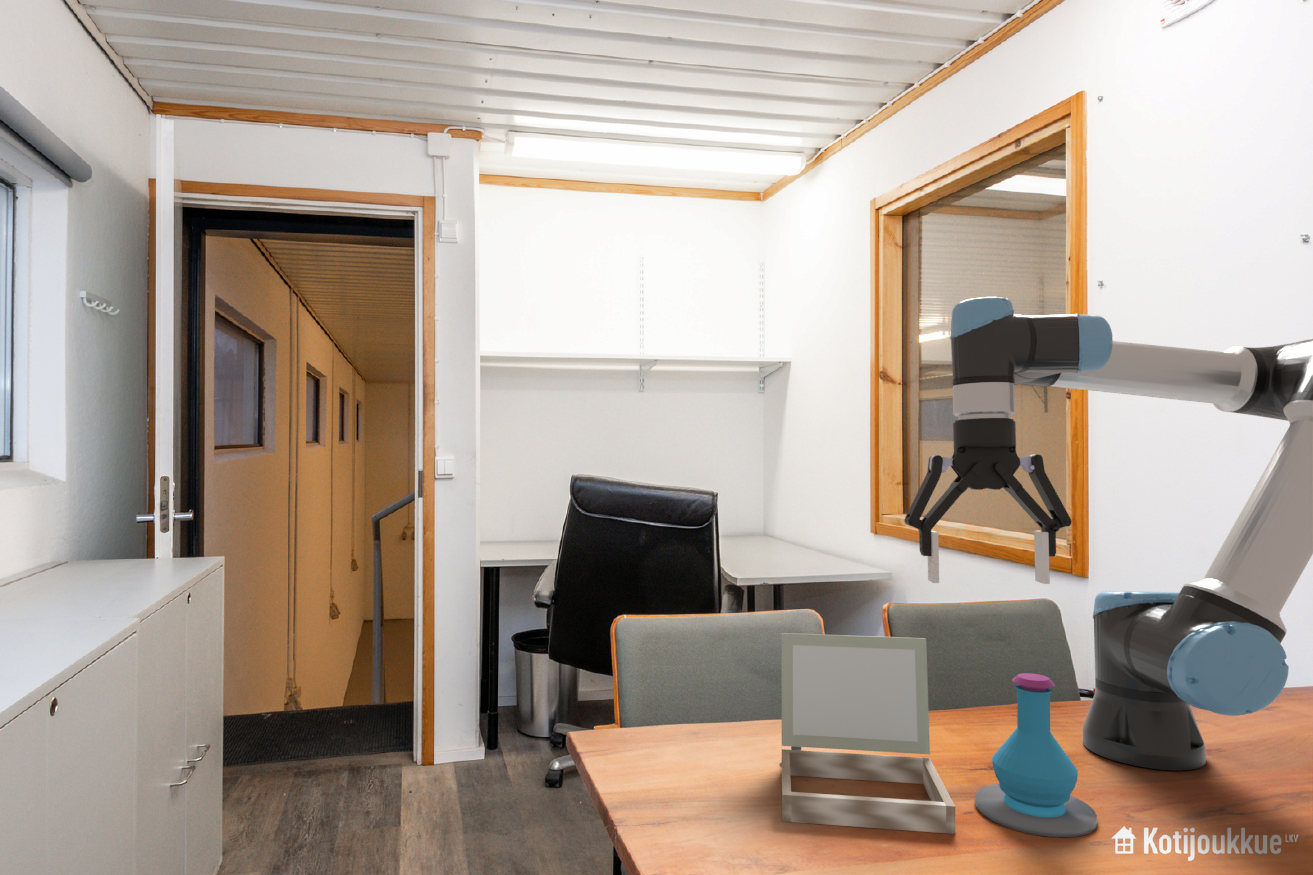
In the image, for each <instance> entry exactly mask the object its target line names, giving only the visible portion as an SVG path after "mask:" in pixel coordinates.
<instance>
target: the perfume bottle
mask: <svg viewBox="0 0 1313 875" xmlns="http://www.w3.org/2000/svg"><path fill="white" fill-rule="evenodd" d="M1011 681H1012V682H1013V683H1015V684H1016V685H1015V686H1014V688H1015V689H1014V690H1016V705H1017V706H1016V710H1017V711H1016V713H1017V714H1016V715H1017V716H1016V718H1017V720H1016V722H1017V725H1016V726H1017V727H1016V728H1015V729H1014V731H1012V733H1011V734H1010V735H1009V737H1008V738H1007V739H1006V740H1005V741H1004V743H1002V745H1000V747H999V748H997V750H996V751H995V752H994V753H993V755H992V757H991V762H992V768H993V771H994V775H995V777H996V780H997V781H998V784H999V786H1000V789H1001V790H1002V791H1003V792H1004V793H1005V795H1004V802H1005V804H1006V805H1007V806H1009V807H1010V808H1012V809H1014V810H1016V811H1018V812H1021V813H1024V814H1028V815H1032V816H1038V817H1058V816H1061V815H1063V814H1065V812H1066V807H1065V805H1064V803H1066V802H1068V801H1069V800H1070V795H1072V793H1073V791H1074V790H1075V788H1076V785H1077V781H1078V775H1079V774H1078V773H1079V770H1078V769H1077V767H1076V766H1075V764H1074V763H1073V761H1072V760H1071V758H1070V756H1068V754H1067V753H1066V751H1065V750H1064V749H1063V748H1062V746H1061V744H1060V743H1059V742H1058V741H1057V739H1056V738H1055V736H1054V735H1053V734H1052V731H1051V694H1052V692H1053V690H1052V688H1054V687H1055V686H1056V684H1055V683H1054V682H1053V681H1052V680H1051V678H1050V677H1048V676H1045V675H1042V674H1038V673H1029V672H1027V673H1025V672H1022V673H1019V674H1016V676H1015V677H1013V678H1012V679H1011Z"/></svg>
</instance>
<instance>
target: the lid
mask: <svg viewBox="0 0 1313 875" xmlns="http://www.w3.org/2000/svg"><path fill="white" fill-rule="evenodd" d="M927 653H928V652H927V638H926V637H925V638H924V637H901V636H900V637H896V636H872V635H871V636H870V635H843V634H842V635H841V634H840V635H839V634H820V633H819V634H817V633H814V634H813V633H793V632H792V633H790V632H789V633H787V632H781V746H782V747H791V746H794V747H801V748H811V749H812V748H813V749H831V750H833V749H834V750H849V751H864V752H865V751H866V752H880V753H882V752H883V753H899V754H912V755H913V754H918V755H931V747H930V741H931V740H930V717H929V713H930V711H929V688H928V687H929V686H928V683H929V682H928V679H929V678H928V657H927V655H928V654H927Z"/></svg>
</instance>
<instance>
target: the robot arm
mask: <svg viewBox="0 0 1313 875" xmlns="http://www.w3.org/2000/svg"><path fill="white" fill-rule="evenodd" d="M949 340H950V345H951V346H950V348H951V369H952V372H951V373H952V415H953V416H955V417H957V420H955V421H954V422H953V424H952V430H953V432H952V433H953V454H952V456H951V457H945V456H941V455H940V454H939V455H938V454H937V455H936V454H935V455H931V456H929V458H928V463H927V472H926V474H925V476H924V479H923V481H922V482H921V485H920V486H919V489H918V490H917V493H916V494H915V497H914V499H913V501H912V502H911V504H910V506H909V510H908V512H906V515H905V518H904V520H903V521H904V523H905V525H907V526H908V527H909V526H910V527H911V528H915V529H917V530H918V533H919V534H918V535H919V538H918V539H919V553H920V555H921V556H923V557H927V580H928V581H929V582H931V583H933V584H939V583H940V558H939V557H940V556H939V555H940V551H939V549H940V548H939V532H938V531H935V530H932V529H933V528H934V527H935V526H936V525H937V524H938V522H939V521H940V520H941V519H942V518H943V517H944V516H945V514H946V513H947V512H948V510H950V508H951V507H952V506H953V505H954V504H955V503H956V501H957V500H958V499H959V498H960V496H961V495H962V494H963V493H965V492H966V491H967V489H970V490H973V491H974V490H980V491H981V490H985V489H987V490H996V491H997V490H1001V489H1004V490H1005V491H1006V492H1007V493H1008V494H1010V496H1011V497H1012V498H1013V499H1014V500H1015V502H1017V504H1018V505H1019V506H1020V507H1021V508H1022V509H1023V510H1024V511H1025V513H1027V515H1028V516H1029V517H1030V518H1031V520H1033V521H1034V523H1036V525H1037V526H1038V527H1039V528H1040V529H1041V530H1033V540H1034V543H1033V544H1034V574H1035V575H1034V576H1035V578H1034V579H1035V581H1036V582H1038V583H1040V584H1043V585H1045V584H1046V585H1047V584H1048V585H1050V584H1051V583H1050V582H1051V580H1050V557H1056V554H1057V537H1056V536H1057V532H1059V530H1060V529H1062V528H1065V527H1069V526H1071V525H1072V519H1071V517H1070V515H1069V513H1068V511H1067V510H1066V507H1065V506H1064V504H1063V502H1062V501H1061V498H1060V497H1059V495H1058V493H1057V491H1056V489H1055V488H1054V486H1053V484H1052V482H1051V481H1050V478H1049V476H1048V475H1047V473H1046V471H1045V465H1044V458H1043V456H1042V455H1041V454H1037V453H1036V454H1029V455H1027V456H1020V457H1019V455H1018V453H1017V438H1016V437H1017V429H1016V428H1017V427H1016V421H1014V420H1015V419H1013V418H1011V416H1013V415H1014V414H1016V397H1015V396H1016V395H1015V386H1016V385H1031V386H1040V387H1055V388H1065V389H1072V390H1073V389H1074V390H1083V391H1084V390H1085V391H1092V392H1099V393H1100V392H1101V393H1111V394H1119V395H1120V394H1121V395H1129V396H1140V397H1149V398H1158V399H1168V400H1175V401H1176V400H1177V401H1187V402H1196V403H1205V404H1213V406H1214V407H1215V408H1216V409H1218V411H1221V412H1226V413H1233V414H1234V413H1235V414H1239V415H1240V414H1242V415H1248V416H1255V417H1262V418H1268V419H1275V420H1280V421H1288V422H1289V426H1288V428H1287V430H1286V432H1285V434H1283V436H1282V439H1281V440H1280V443H1279V444H1278V446H1277V448H1276V450H1275V452H1274V453H1273V455H1272V457H1271V458H1270V460H1269V462H1268V464H1267V465H1266V467H1265V469H1264V471H1263V473H1262V474H1261V476H1260V477H1259V480H1258V481H1257V483H1256V485H1255V486H1254V489H1253V490H1252V492H1251V494H1250V495H1249V497H1248V499H1247V501H1246V503H1245V505H1244V506H1243V508H1242V510H1240V511H1241V512H1240V513H1239V515H1238V517H1237V518H1236V521H1235V522H1234V524H1233V526H1232V528H1231V529H1230V531H1229V533H1228V535H1227V536H1226V537H1225V540H1224V541H1223V543H1222V545H1221V547H1220V548H1219V551H1218V552H1217V554H1216V555H1215V557H1214V559H1213V561H1212V563H1211V564H1210V566H1209V569H1208V570H1207V572H1206V574H1205V576H1204V577H1203V578H1202V579H1201V580H1196V581H1193V582H1189V583H1184V585H1183V586H1182V587H1181V589H1180V591H1179V592H1175V591H1174V592H1172V591H1126V590H1125V591H1124V590H1122V591H1121V590H1119V591H1114V590H1113V591H1111V590H1109V591H1106V590H1105V591H1101V592H1099V593H1098V594H1096V595H1095V598H1094V606H1093V612H1092V619H1093V638H1094V639H1093V640H1094V646H1093V647H1094V676H1095V677H1094V678H1095V679H1094V680H1095V684H1094V695H1093V698H1092V700H1091V703H1090V706H1089V708H1088V712H1087V714H1086V716H1085V720H1084V723H1083V724H1082V744H1083V746H1084V747H1085V748H1087V749H1088V750H1089V751H1091V752H1092V753H1094V754H1096V755H1099V756H1100V757H1102V758H1103V757H1104V758H1106V759H1109V760H1111V761H1115V762H1119V763H1122V764H1126V765H1130V766H1135V767H1141V768H1145V769H1153V770H1155V769H1156V770H1161V771H1162V770H1163V771H1165V770H1166V771H1189V770H1190V771H1191V770H1196V769H1199V768H1202V767H1204V766H1205V765H1206V763H1207V762H1206V761H1207V757H1206V756H1207V754H1206V745H1205V741H1204V739H1203V736H1202V733H1201V730H1200V728H1199V726H1198V723H1197V720H1196V718H1195V715H1194V711H1193V710H1192V707H1193V708H1196V709H1199V710H1204V711H1207V712H1212V713H1214V714H1218V715H1223V716H1228V717H1237V716H1239V717H1240V716H1245V715H1250V714H1254V713H1257V712H1259V711H1261V710H1264V709H1265V708H1266V707H1268V706H1269V705H1271V704H1272V703H1273V702H1274V701H1275V700H1276V699H1277V698H1278V697H1279V696H1280V694H1281V693H1282V691H1283V690H1284V688H1285V686H1286V684H1287V681H1288V677H1289V665H1288V664H1287V663H1286V659H1287V653H1286V651H1285V649H1284V646H1282V641H1283V640H1284V639H1285V636H1286V634H1287V631H1288V630H1287V628H1286V625H1285V624H1284V622H1283V620H1282V618H1281V614H1280V613H1281V612H1282V609H1283V608H1284V606H1285V605H1286V603H1287V601H1288V599H1289V597H1290V595H1291V593H1292V591H1293V590H1294V588H1295V586H1296V585H1297V583H1298V581H1299V579H1300V577H1301V576H1302V574H1303V572H1304V571H1305V568H1306V566H1307V565H1308V563H1309V561H1310V560H1311V558H1312V556H1313V338H1312V339H1305V340H1300V341H1296V342H1291V343H1286V344H1285V343H1283V344H1280V345H1274V346H1264V347H1247V346H1232V347H1229V348H1227V349H1225V350H1224V351H1218V350H1217V351H1215V350H1207V349H1206V350H1205V349H1204V350H1203V349H1196V348H1186V347H1185V348H1184V347H1176V346H1168V345H1167V346H1165V345H1156V344H1155V345H1154V344H1148V343H1147V344H1146V343H1137V342H1136V343H1133V342H1124V341H1117V340H1116V341H1115V340H1113V331H1112V328H1111V325H1110V324H1109V322H1108V320H1106V318H1104V317H1103V316H1101V315H1097V314H1082V313H1078V312H1077V313H1074V314H1037V315H1036V314H1035V315H1034V314H1032V315H1030V314H1028V315H1026V314H1024V315H1022V314H1018V313H1017V314H1015V310H1014V307H1013V303H1012V301H1011V300H1010V299H1009V298H1006V297H998V296H985V297H976V298H968V299H965V300H962V301H960V302H958V303H957V304H955V306H954V307H953V309H952V311H951V320H950V336H949ZM949 467H951V469H952V470H953V471H954V473H955V474H956V477H955V479H954V480H953V481H952V482H951V483H950V485H949V487H948V488H947V489H946V490H945V492H944V493H943V494H942V495H941V496H940V498H938V500H937V501H936V502H935V503H934V505H933V506H932V507H931V508H930V509H929V511H928V512H927V513H926V514H925V515H924V516H923V514H924V511H925V509H926V507H927V504H928V503H929V501H930V499H931V497H932V495H933V493H934V491H935V489H936V487H937V485H938V484H939V480H940V478H941V476H942V474H943V473H945V472H947V469H948V468H949ZM1020 467H1022V470H1023V471H1024V472H1026V473H1028V476H1029V478H1030V480H1031V481H1032V484H1033V486H1034V488H1035V489H1036V491H1037V494H1038V495H1039V496H1040V498H1041V501H1042V502H1043V503H1044V506H1045V507H1046V509H1047V511H1048V513H1049V514H1048V513H1047V512H1046V511H1045V510H1044V509H1043V508H1042V507H1041V506H1040V504H1038V502H1037V501H1036V500H1035V499H1034V498H1033V497H1032V496H1031V495H1030V493H1029V492H1027V491H1026V489H1025V488H1024V487H1023V484H1022V483H1021V482H1020V481H1019V479H1017V478H1016V477H1015V476H1014V475H1015V473H1016V472H1017V470H1018V469H1019V468H1020ZM1049 515H1050V516H1051V517H1050V516H1049ZM922 516H923V518H922Z"/></svg>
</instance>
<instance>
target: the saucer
mask: <svg viewBox="0 0 1313 875" xmlns="http://www.w3.org/2000/svg"><path fill="white" fill-rule="evenodd" d="M1004 795H1005V793H1004V792H1003V791H1002V790H1001V789H1000V786H999V783H994V784H989V785H986V786H983V787H981V788H979V789H978V790H977V791H976V792H975V795H974V805H975V808H976V809H977V811H978V813H980V814H982V816H984V817H986V818H987V819H989V820H990V821H992V822H994V823H996V824H998V825H1000V826H1002V827H1005V828H1008V829H1011V830H1015V831H1018V832H1020V833H1024V834H1025V833H1026V834H1030V835H1036V836H1042V837H1050V838H1074V837H1075V838H1076V837H1081V836H1086V835H1088V834H1090V833H1092V832H1093V831H1095V829H1097V826H1098V821H1097V820H1098V819H1097V817H1098V816H1097V813H1096V811H1095V809H1093V807H1092V806H1090V805H1089V804H1087V803H1086V802H1085V801H1083V800H1081V799H1079V798H1077V797H1076V796H1073V795H1072V794H1070V800H1069V801H1068V802H1066V803H1064V805H1065V807H1066V812H1065V814H1063V815H1061V816H1058V817H1038V816H1032V815H1028V814H1024V813H1021V812H1018V811H1016V810H1014V809H1012V808H1010V807H1009V806H1007V805H1006V804H1005V802H1004Z"/></svg>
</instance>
